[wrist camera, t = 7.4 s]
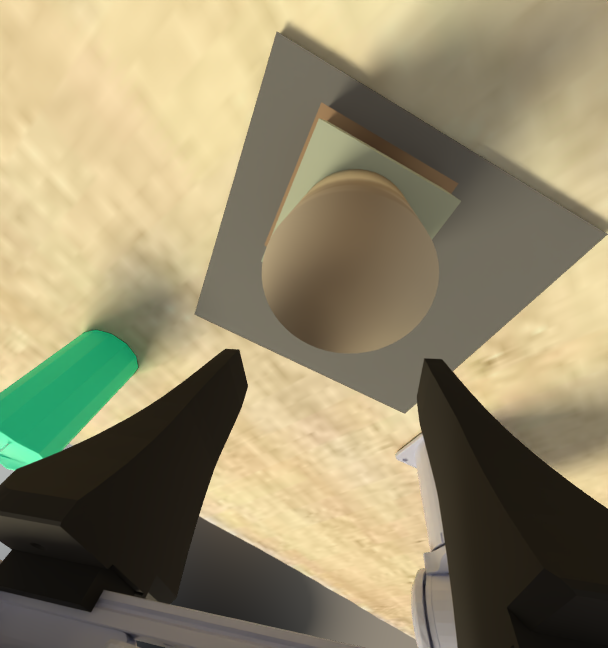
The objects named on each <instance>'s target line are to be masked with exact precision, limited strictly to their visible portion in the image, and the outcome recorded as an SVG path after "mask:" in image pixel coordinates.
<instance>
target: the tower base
mask: <svg viewBox="0 0 608 648" xmlns="http://www.w3.org/2000/svg"><path fill="white" fill-rule="evenodd" d="M319 118H320V119H323V120H326V121H328V122H330V123H332V124H333V125H335V126H337V127H339V128H340V129H342V130H344V131H345V132H347V133H349V134H351V135H352V136H354V137H356V138H357V139H359V140H361V141H363V142H364V143H366V144H368V145H369V146H371V147H373V148H375V149H376V150H378V151H380V152H381V153H383V154H385V155H387V156H388V157H390V158H392V159H393V160H395V161H397V162H399V163H400V164H402V165H404V166H405V167H407V168H409V169H411V170H412V171H414V172H416V173H417V174H419V175H421V176H423V177H424V178H426V179H428V180H429V181H431V182H433V183H435V184H436V185H438V186H440V187H441V188H443V189H444V190H446V191H447V192H449V193H450V194H451V193H452V192H453V191H454V189H455V188H456V186H457V185H458V183H457V182H455V181H453V180H452V179H450V178H448V177H447V176H445V175H443V174H441V173H440V172H438V171H436V170H435V169H433V168H431V167H430V166H428V165H426V164H425V163H423V162H421V161H420V160H418V159H416V158H415V157H413V156H411V155H409V154H408V153H406V152H404V151H403V150H401V149H399V148H398V147H396V146H394V145H393V144H391V143H389V142H388V141H386V140H384V139H382V138H381V137H379V136H377V135H376V134H374V133H372V132H371V131H369V130H367V129H366V128H364V127H362V126H361V125H359V124H357V123H356V122H354V121H352V120H350V119H349V118H347V117H345V116H344V115H342V114H340V113H339V112H337V111H335V110H334V109H332V108H330V107H329V106H327V105H325V104H323V103H322V102H321V104H320V107H319V109H318V112H317V114H316V117H315V119H314V122H313V124H312V127H311V129H310V132H309V134H308V137H307V139H306V142H305V144H304V147H303V149H302V152H301V154H300V157H299V159H298V162H297V165H296V167H295V170H294V172H293V175H292V177H291V180H290V182H289V185H288V187H287V190H286V192H285V195H284V197H283V200H282V202H281V205H280V207H279V210H278V212H277V215H276V217H275V220H274V222H273V225H272V227H271V230H270V232H269V235H268V237H267V240H266V242H265V246H267V245H268V243H269V240H270V238H271V235H272V233H273V231H274V228H275V226H276V223H277V221H278V218H279V216H280V213H281V211H282V208H283V206H284V203H285V201H286V198H287V196H288V194H289V191H290V189H291V186H292V184H293V181H294V179H295V176H296V174H297V171H298V169H299V166H300V164H301V161H302V159H303V156H304V154H305V152H306V149H307V147H308V144H309V142H310V139H311V137H312V134H313V132H314V129H315V127H316V124H317V122H318V119H319Z"/></svg>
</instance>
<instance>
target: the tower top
mask: <svg viewBox="0 0 608 648" xmlns="http://www.w3.org/2000/svg"><path fill="white" fill-rule="evenodd" d="M348 169H363V170H369V171H372V172H376V173H378V174H380V175H382V176H384V177H386V178H387V179H388V180H390V181H391V182H392V183H393V184H394V185H396V186H397V188H398V189H399V190H400V191H401V193H402V194H403V196H404V197H405V199H406V200H407V202H408V203H409V205H410V206H411V208H412V209H413V211H414V212H415V214H416V215H417V217H418V218H419V220H420V221H421V223H422V224H423V226H424V227H425V229H426V230H427V232H428V234H429V236H430V237H431V239H433V238H434V237H435V235H436V234H437V233H438V231H439V230H440V229H441V227H442V226H443V225H444V223H445V222H446V221H447V219H448V218H449V217H450V215H451V214H452V213H453V212H454V210H455V209H456V208H457V206H458V205H459V204H460V202H461V201H460V200H459V199H457V198H456V197H455V196H453V195H452V194H450V193H449V192H447V191H446V190H444V189H443V188H441V187H440V186H438V185H436V184H435V183H433V182H431V181H429V180H428V179H426V178H424V177H423V176H421V175H419V174H417V173H416V172H414V171H412V170H411V169H409V168H407V167H405V166H404V165H402V164H400V163H399V162H397V161H395V160H393V159H392V158H390V157H388V156H387V155H385V154H383V153H381V152H380V151H378V150H376V149H375V148H373V147H371V146H369V145H368V144H366V143H364V142H363V141H361V140H359V139H357V138H356V137H354V136H352V135H351V134H349V133H347V132H345V131H344V130H342V129H340V128H339V127H337V126H335V125H333V124H332V123H330V122H328V121H326V120H323V119H320V118H319V119H318V122H317V124H316V127H315V129H314V132H313V134H312V137H311V139H310V142H309V144H308V147H307V149H306V152H305V154H304V156H303V159H302V161H301V164H300V166H299V169H298V171H297V174H296V176H295V179H294V181H293V184H292V186H291V189H290V191H289V194H288V196H287V198H286V201H285V203H284V206H283V208H282V211H281V213H280V216H279V218H278V221H277V223H276V226H275V228H274V231H273V233H274V232H275V230H276V229H277V227H278V226H279V225H280V224H281V222H282V221H283V220H284V219H285V218H286V217H287V216H288V214H289V213H290V212H291V211H292V210H293V209H294V208H295V206H296V205H297V204H298V203H299V202H300V201H301V199H302V198H303V197H304V196H305V195H306V194H307V193H308V191H309V190H310V189H311V188H312V187H313V186H314V185H315V184H316V183H318V182H319V181H320V180H322V179H323V178H325V177H326V176H329V175H331V174H333V173H335V172H339V171H342V170H348ZM273 233H272V235H273ZM272 235H271V236H272ZM269 241H270V240H269ZM263 257H264V255H263ZM261 262H263V258H262V260H261Z"/></svg>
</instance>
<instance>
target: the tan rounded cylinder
mask: <svg viewBox="0 0 608 648" xmlns="http://www.w3.org/2000/svg"><path fill="white" fill-rule="evenodd" d="M438 281H439V262H438V257H437V252H436V249H435V247H434V244H433V241H432V239H431V237H430V236H429V234H428V232H427V230H426V229H425V227H424V226H423V224H422V223H421V221H420V220H419V218H418V217H417V215H416V214H415V212H414V211H413V209H412V208H411V206H410V205H409V203H408V202H407V200H406V199H405V197H404V196H403V194H402V193H401V191H400V190H399V189H398V188H397V186H396V185H394V184H393V183H392V182H391V181H390V180H388V179H387V178H386V177H384V176H382V175H380V174H378V173H376V172H372V171H369V170H363V169H348V170H342V171H339V172H335V173H333V174H331V175H329V176H326V177H325V178H323V179H322V180H320V181H319V182H318V183H316V184H315V185H314V186H313V187H312V188H311V189H310V190H309V191H308V193H307V194H306V195H305V196H304V197H303V198H302V199H301V201H300V202H299V203H298V204H297V205H296V206H295V208H294V209H293V210H292V211H291V212H290V213H289V214H288V216H287V217H286V218H285V219H284V220H283V221H282V222H281V224H280V225H279V226H278V227H277V229H276V230H275V232H274V233H273V235H272V236H271V238H270V241H269V243H268V245H267V247H266V250H265V253H264V257H263V263H262V284H263V289H264V293H265V297H266V299H267V302H268V304H269V306H270V308H271V310H272V312H273V314H274V315H275V316H276V318H277V319H278V321H279V322H280V323H281V324H282V325H283V326H284V327H285V328H286V329H287V330H288V331H289V332H290V333H291V334H293V335H294V336H295V337H297V338H298V339H300V340H301V341H303V342H305V343H307V344H309V345H311V346H314V347H316V348H319V349H322V350H326V351H330V352H335V353H346V354H350V353H364V352H369V351H374V350H377V349H380V348H383V347H386V346H388V345H390V344H393V343H395V342H396V341H398V340H400V339H401V338H403V337H404V336H406V335H407V334H408V333H410V332H411V331H412V330H413V329H414V328H415V327H416V326H417V325H418V324H419V323H420V322H421V320H422V319H423V318H424V317H425V315H426V314H427V312H428V310H429V309H430V307H431V305H432V303H433V300H434V298H435V295H436V291H437V287H438Z"/></svg>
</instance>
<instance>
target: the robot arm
mask: <svg viewBox="0 0 608 648" xmlns="http://www.w3.org/2000/svg"><path fill="white" fill-rule="evenodd" d="M247 388H248V384H247V380H246V376H245V372H244V368H243V363H242V359H241V355H240V351H239V350H236V349H225V350H223V351H222V352H221V353H219V354H218V355H217V356H215V357H214V358H213V359H212V360H210V361H209V362H208V363H207V364H205V365H204V366H203V367H202V368H200V369H199V370H198V371H196V372H195V373H194V374H193V375H191V376H190V377H189V378H188V379H186V380H185V381H184V382H182V383H181V384H179V385H178V386H177V387H175V388H174V389H173V390H171V391H170V392H168V393H167V394H166V395H164V396H163V397H161V398H160V399H158V400H157V401H155V402H154V403H152V404H151V405H149V406H148V407H146V408H144V409H143V410H141V411H139V412H138V413H136V414H134V415H133V416H131V417H129V418H127V419H126V420H124V421H122V422H120V423H118V424H116V425H114V426H113V427H111V428H109V429H107V430H105V431H103V432H101V433H99V434H97V435H95V436H93V437H91V438H89V439H87V440H85V441H83V442H80V443H78V444H76V445H74V446H72V447H69V448H67V449H65V450H63V451H60V452H58V453H55V454H53V455H50V456H48V457H45V458H43V459H41V460H38V461H36V462H33V463H31V464H28V465H26V466H23V467H20V468H18V469H16V470H15V471H14V472H13V473H12V474H11V475H10V476H9V477H8V478H7V479H6V480H5V481H4V482H3V483H2V484H1V485H0V541H1V542H2V543H3V544H5V545H6V546H8V547H9V548H11V549H12V551H11V552H10V553H9V554H8V555H7V557H6V558H5V559H4V560H3V561H2V560H0V648H140V647H137V644H136V641H135V640H138V641H142V642H146V643H150V644H154V645H158V646H162V647H166V648H364V647H359V646H355V645H351V644H346V643H342V642H337V641H333V640H328V639H324V638H319V637H315V636H310V635H305V634H301V633H297V632H292V631H288V630H283V629H278V628H274V627H269V626H265V625H260V624H256V623H251V622H247V621H242V620H238V619H233V618H229V617H224V616H219V615H215V614H210V613H206V612H202V611H197V610H192V609H188V608H183V607H179V606H174V605H170V603H172V602H173V601H174V600H175V599H176V597H177V594H178V590H179V585H180V581H181V578H182V574H183V570H184V566H185V562H186V559H187V555H188V551H189V548H190V544H191V541H192V537H193V534H194V530H195V527H196V523H197V520H198V517H199V514H200V510H201V507H202V504H203V501H204V498H205V495H206V492H207V489H208V486H209V483H210V480H211V477H212V474H213V471H214V468H215V466H216V463H217V461H218V459H219V456H220V454H221V452H222V450H223V448H224V445H225V443H226V441H227V439H228V437H229V434H230V432H231V430H232V428H233V426H234V423H235V421H236V419H237V417H238V414H239V412H240V410H241V407H242V404H243V401H244V398H245V395H246V391H247ZM417 406H418V414H419V421H420V426H421V430H422V433H421V434H420V435H419V436H417V437H416V438H415V439H414V440H412V441H411V442H410V443H408V444H407V445H406V446H405V447H403V448H402V449H401V450H399V451H398V452H397V453H396V454H395V456H396V459H397V460H399V461H401V462H403V463H406V464H408V465H410V466H412V467H415V468H417V473H418V479H419V485H420V491H421V497H422V503H423V509H424V515H425V521H426V527H427V534H428V540H429V546H430V552H427V553H423V556H424V562H425V568H423V569H420V570H418V572H417V574H416V577H415V580H414V582H413V585H412V591H411V609H412V619H413V626H414V632H415V637H416V641H417V646H418V648H608V509H607V508H606V507H604V506H603V505H601V504H600V503H599V502H597V501H596V500H594V499H593V498H591V497H590V496H589V495H587V494H586V493H584V492H583V491H582V490H580V489H579V488H577V487H576V486H575V485H573V484H572V483H571V482H569V481H568V480H567V479H566V478H564V477H563V476H562V475H560V474H559V473H558V472H556V471H555V470H554V469H552V468H551V467H550V466H549V465H547V464H546V463H545V462H544V461H542V460H541V459H540V458H539V457H537V456H536V455H535V454H534V453H533V452H531V451H530V450H529V449H528V448H527V447H526V446H524V445H523V444H522V443H521V442H520V441H519V440H518V439H516V438H515V437H514V436H513V435H512V434H511V433H510V432H509V431H508V430H506V429H505V428H504V427H503V426H502V425H501V424H500V423H499V422H498V421H497V420H496V419H495V418H494V417H493V416H492V415H491V414H490V413H489V412H488V411H487V410H486V409H485V408H484V407H483V405H482V404H481V403H480V402H479V401H478V400H477V399H476V398H475V397H474V396H473V395H472V394H471V392H470V391H469V390H468V389H467V388H466V387H465V386H464V384H463V383H462V382H461V381H460V380H459V379H458V377H457V376H456V375H455V374H454V373H453V371H452V370H451V369H450V368H449V367H448V365H447V364H446V363H445V362H444V361H443V360H442V359H429V358H424V362H423V367H422V372H421V377H420V382H419V388H418V393H417Z"/></svg>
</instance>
